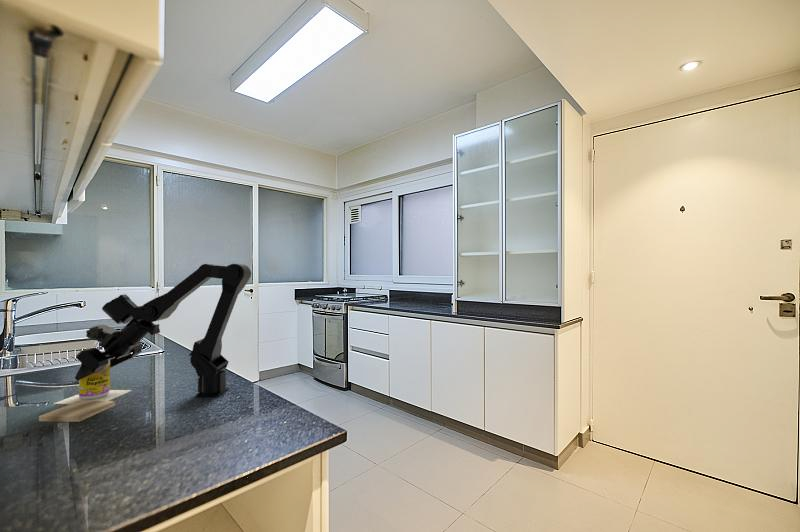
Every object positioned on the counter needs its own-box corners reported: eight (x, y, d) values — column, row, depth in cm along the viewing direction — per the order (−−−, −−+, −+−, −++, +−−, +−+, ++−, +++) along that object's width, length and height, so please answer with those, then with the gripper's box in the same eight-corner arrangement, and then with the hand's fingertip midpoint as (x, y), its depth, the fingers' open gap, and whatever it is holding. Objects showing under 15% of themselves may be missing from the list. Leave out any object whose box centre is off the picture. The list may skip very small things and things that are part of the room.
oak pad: (114, 405, 94) (114, 401, 94) (79, 421, 84) (79, 416, 84) (78, 405, 94) (78, 400, 94) (38, 421, 84) (38, 416, 84)
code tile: (132, 390, 105) (132, 389, 105) (99, 404, 94) (99, 403, 94) (90, 390, 106) (90, 389, 106) (53, 404, 95) (53, 403, 95)
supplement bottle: (82, 402, 95) (82, 355, 95) (76, 397, 99) (76, 351, 99) (112, 395, 101) (113, 350, 101) (106, 390, 105) (106, 347, 105)
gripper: (131, 311, 110) (93, 347, 109) (84, 320, 91) (37, 363, 90) (158, 336, 111) (120, 372, 109) (116, 349, 92) (70, 393, 91)
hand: (89, 374), depth 100 cm, fingers open, 9 cm apart
